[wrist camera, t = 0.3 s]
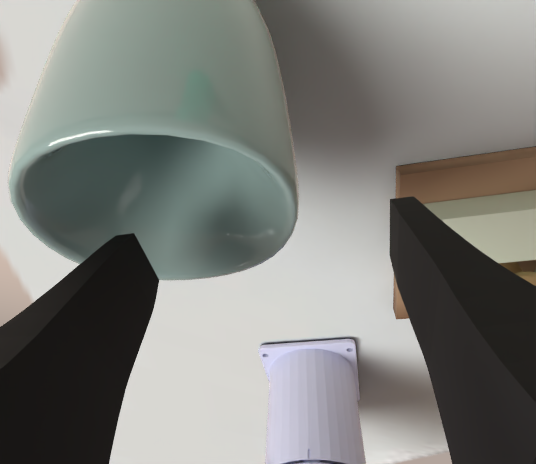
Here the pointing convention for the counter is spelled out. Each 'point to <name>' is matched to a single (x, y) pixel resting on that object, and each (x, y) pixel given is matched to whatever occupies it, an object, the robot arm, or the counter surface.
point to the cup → (160, 137)
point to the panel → (494, 223)
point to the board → (469, 190)
